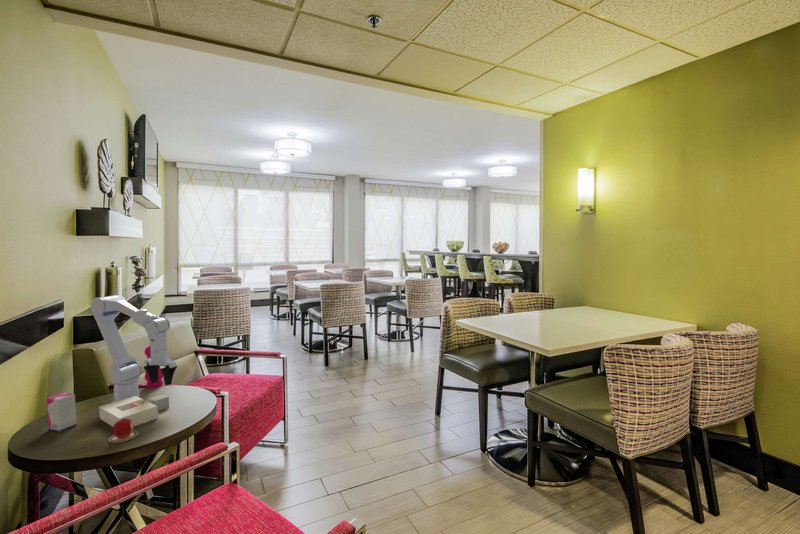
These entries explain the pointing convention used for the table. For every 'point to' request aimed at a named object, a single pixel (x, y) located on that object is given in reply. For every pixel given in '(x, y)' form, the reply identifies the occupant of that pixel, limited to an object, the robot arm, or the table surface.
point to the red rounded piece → (123, 431)
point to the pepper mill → (148, 384)
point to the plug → (160, 402)
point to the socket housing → (128, 411)
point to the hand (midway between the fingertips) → (161, 383)
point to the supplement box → (61, 412)
